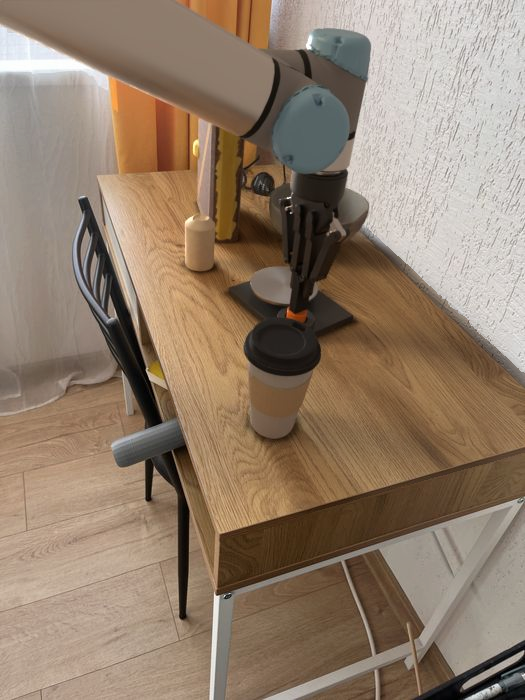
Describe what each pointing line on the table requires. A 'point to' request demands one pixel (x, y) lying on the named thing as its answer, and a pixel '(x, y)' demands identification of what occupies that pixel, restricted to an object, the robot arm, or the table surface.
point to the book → (219, 178)
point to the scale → (319, 311)
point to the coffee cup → (279, 373)
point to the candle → (199, 242)
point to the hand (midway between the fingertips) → (298, 309)
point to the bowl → (350, 209)
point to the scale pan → (275, 285)
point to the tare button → (297, 315)
